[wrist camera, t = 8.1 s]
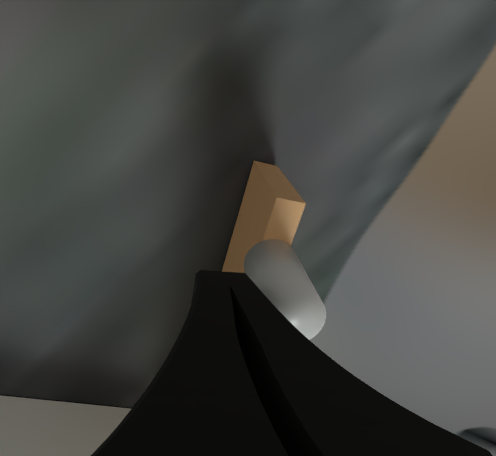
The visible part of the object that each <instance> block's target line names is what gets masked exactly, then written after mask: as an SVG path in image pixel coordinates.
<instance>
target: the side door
mask: <svg viewBox="0 0 496 456" xmlns="http://www.w3.org/2000/svg"><path fill="white" fill-rule="evenodd" d="M305 205H306V203H305V202H304V200H303V199H302V198H301V196H300V195H299V194H298V193H297V191H296V190H295V189H294V187H293V186H292V185H291V183H290V182H289V181H288V179H287V178H286V177H285V175H284V174H283V173H282V172H281V170H280V169H279V168H278V166H275V165H271V164H266V163H262V162H258V161H254V162H253V165H252V169H251V172H250V176H249V179H248V183H247V186H246V189H245V193H244V196H243V200H242V203H241V207H240V210H239V214H238V217H237V220H236V224H235V227H234V231H233V234H232V238H231V241H230V245H229V248H228V251H227V255H226V258H225V262H224V265H223V269H222V272H239V273H246V274H247V275H248V277H249V278H250V279H251V280H252V281H253V282H254V283H255V284H256V286H257V287H258V288H259V289H260V290H261V291H262V293H263V294H264V295H265V296H266V297H267V298H268V299H269V300H270V301H271V303H272V304H273V305H274V306H275V307H276V308H277V309H278V310H279V311H280V312H281V313H282V314H283V315H284V316H285V317H286V318H287V319H288V320H289V321H290V322H291V323H292V324H293V325H294V326H295V327H296V328H297V329H298V330H299V331H300V332H301V333H302V334H303V335H304V336H305V337H306V338H307V339H309V340H310V339H312V338H313V337H314V336H316V335H317V334H318V332H319V331H320V330H321V329H322V327H323V325H324V323H325V320H326V309H325V306H324V304H323V303H322V301H321V299H320V297H319V295H318V293H317V292H316V290H315V288H314V286H313V284H312V282H311V281H310V279H309V277H308V275H307V273H306V271H305V270H304V268H303V266H302V264H301V262H300V261H299V259H298V257H297V255H296V253H295V251H294V250H293V248H292V247H291V244H292V241H293V238H294V235H295V233H296V230H297V227H298V224H299V221H300V219H301V216H302V213H303V210H304V208H305Z"/></svg>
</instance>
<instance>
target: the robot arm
mask: <svg viewBox="0 0 496 456" xmlns="http://www.w3.org/2000/svg"><path fill="white" fill-rule="evenodd" d="M91 456H492V454H491V453H490V452H489V451H488V450H486V449H484V448H482V447H480V446H478V445H476V444H474V443H471V442H469V441H467V440H465V439H463V438H461V437H459V436H457V435H455V434H453V433H451V432H449V431H447V430H445V429H443V428H440V427H439V426H436V425H435V424H433V423H431V422H429V421H427V420H425V419H423V418H422V417H420V416H418V415H416V414H415V413H413V412H411V411H409V410H407V409H406V408H404V407H402V406H400V405H399V404H397V403H395V402H394V401H392V400H390V399H389V398H387V397H385V396H384V395H382V394H381V393H379V392H377V391H376V390H375V389H373V388H371V387H370V386H368V385H367V384H365V383H364V382H363V381H361V380H360V379H358V378H357V377H355V376H353V375H352V374H351V373H350V372H348V371H347V370H345V369H344V368H343V367H341V366H340V365H339V364H337V363H336V362H335V361H334V360H332V359H331V358H330V357H329V356H327V355H326V354H325V353H324V352H322V351H321V350H320V349H319V348H318V347H316V346H315V345H314V344H313V343H312V342H311V341H310V340H309V339H307V338H306V337H305V336H304V335H303V334H302V333H301V332H300V331H299V330H298V329H297V328H296V327H295V326H294V325H293V324H292V323H291V322H290V321H289V320H288V319H287V318H286V317H285V316H284V315H283V314H282V313H281V312H280V311H279V310H278V309H277V308H276V307H275V306H274V305H273V304H272V303H271V301H270V300H269V299H268V298H267V297H266V296H265V295H264V294H263V293H262V291H261V290H260V289H259V288H258V287H257V286H256V284H255V283H254V282H253V281H252V280H251V279H250V278H249V277H248V275H247V274H246V273H239V272H222V271H205V270H200V271H199V272H197V273H196V276H195V283H194V290H193V298H192V305H191V308H190V311H189V314H188V316H187V319H186V321H185V323H184V326H183V328H182V330H181V332H180V334H179V337H178V339H177V341H176V342H175V344H174V346H173V348H172V350H171V352H170V354H169V355H168V357H167V359H166V360H165V362H164V364H163V365H162V367H161V369H160V370H159V372H158V373H157V375H156V376H155V378H154V379H153V381H152V382H151V384H150V385H149V387H148V388H147V389H146V391H145V392H144V394H143V395H142V396H141V398H140V399H139V400H138V401H137V403H136V404H135V405H134V406H133V408H132V409H131V410H130V411H129V413H128V414H127V415H126V416H125V418H124V419H123V420H122V421H121V423H120V424H119V425H118V426H117V428H116V429H115V430H114V431H113V432H112V433H111V434H110V436H109V437H108V438H107V439H106V440H105V441H104V442H103V443H102V444H101V445H100V446H99V447H98V448H97V449H96V451H95V452H94V453H93V454H92V455H91Z"/></svg>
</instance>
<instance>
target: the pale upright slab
mask: <svg viewBox="0 0 496 456" xmlns="http://www.w3.org/2000/svg"><path fill="white" fill-rule="evenodd" d="M130 410H131V409H130V408H120V407H110V406H100V405H90V404H80V403H70V402H60V401H50V400H41V399H31V398H21V397H11V396H1V395H0V456H91V455H92V454H93V453H94V452H95V451H96V449H97V448H98V447H99V446H100V445H101V444H102V443H103V442H104V441H105V440H106V439H107V438H108V437H109V436H110V434H111V433H112V432H113V431H114V430H115V429H116V428H117V426H118V425H119V424H120V423H121V421H122V420H123V419H124V418H125V416H126V415H127V414H128V413H129V411H130Z"/></svg>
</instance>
